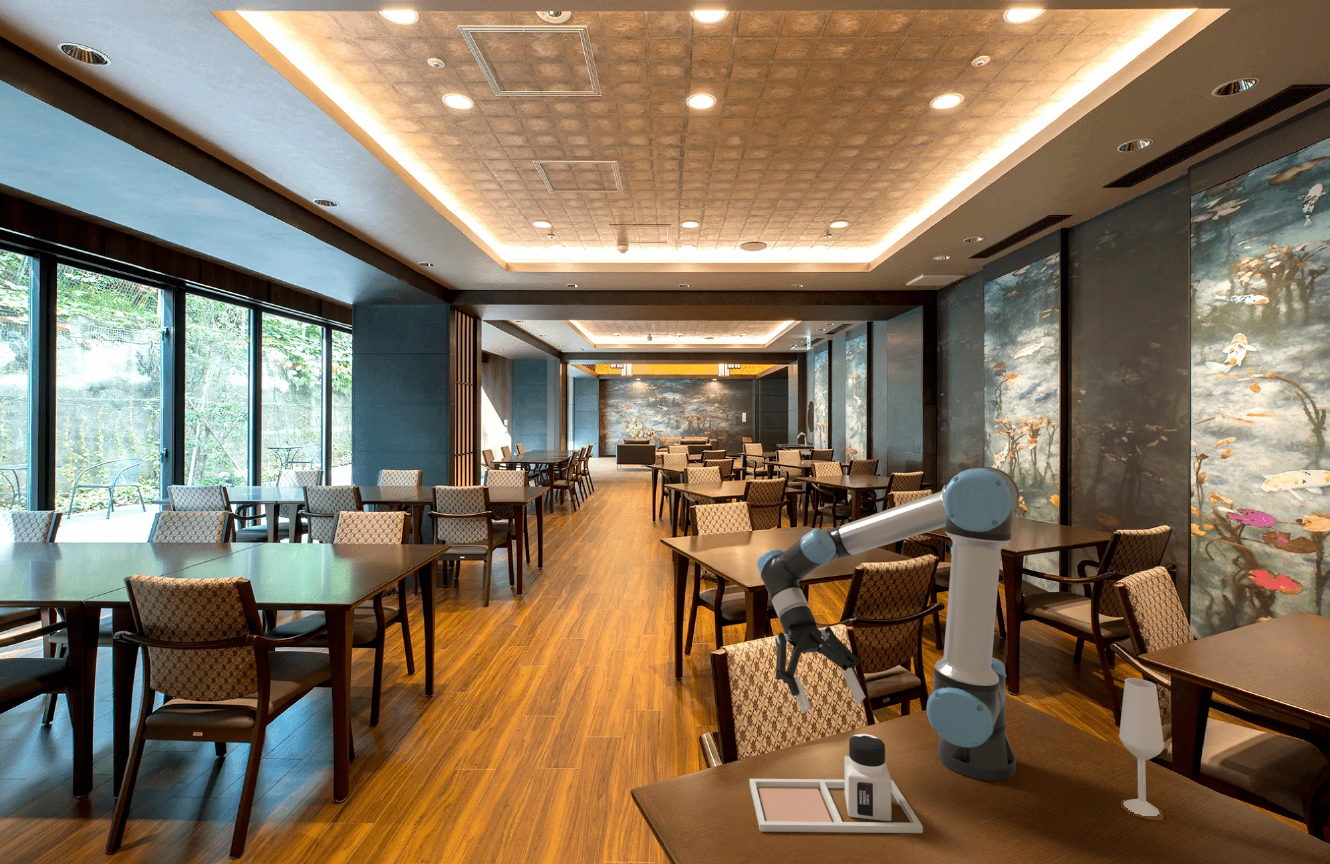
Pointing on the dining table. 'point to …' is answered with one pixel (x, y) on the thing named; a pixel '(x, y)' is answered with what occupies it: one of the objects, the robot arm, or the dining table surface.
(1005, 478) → the robot arm
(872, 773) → the container
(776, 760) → the dining table surface
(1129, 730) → the champagne flute
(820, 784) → the bay frame
